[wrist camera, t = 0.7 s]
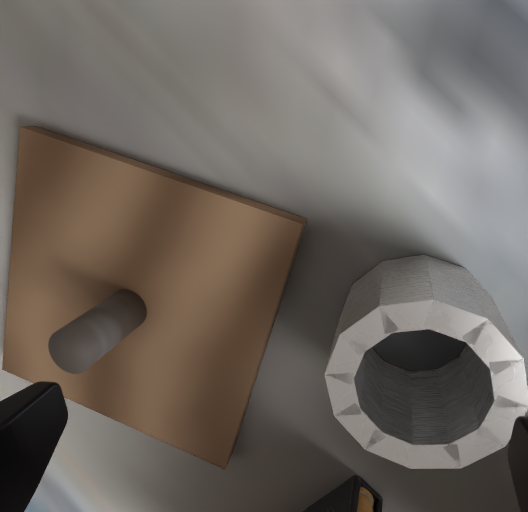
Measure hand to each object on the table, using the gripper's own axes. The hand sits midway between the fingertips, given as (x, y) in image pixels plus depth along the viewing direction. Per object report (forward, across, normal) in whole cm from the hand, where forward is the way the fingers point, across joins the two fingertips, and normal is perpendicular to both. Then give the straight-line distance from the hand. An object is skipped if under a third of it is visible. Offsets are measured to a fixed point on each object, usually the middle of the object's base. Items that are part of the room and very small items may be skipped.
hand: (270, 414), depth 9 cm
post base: (+12, +9, +5) cm, 16 cm away
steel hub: (+11, -5, +5) cm, 13 cm away
